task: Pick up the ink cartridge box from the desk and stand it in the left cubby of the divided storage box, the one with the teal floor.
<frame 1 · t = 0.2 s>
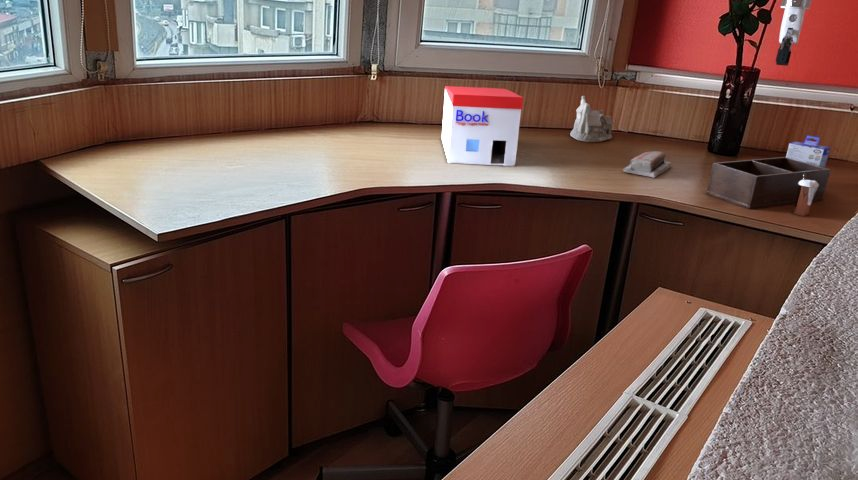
hand: (781, 63, 216), 33 cm above the table, tool pointing down, fingers open, 9 cm apart
divided storage box: (764, 196, 200), on the table
ceramic cottage: (591, 138, 265), on the table
ink cartridge box: (799, 185, 214), on the table
bookstore: (475, 152, 236), on the table
milkshake: (799, 214, 186), on the table
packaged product: (647, 170, 223), on the table
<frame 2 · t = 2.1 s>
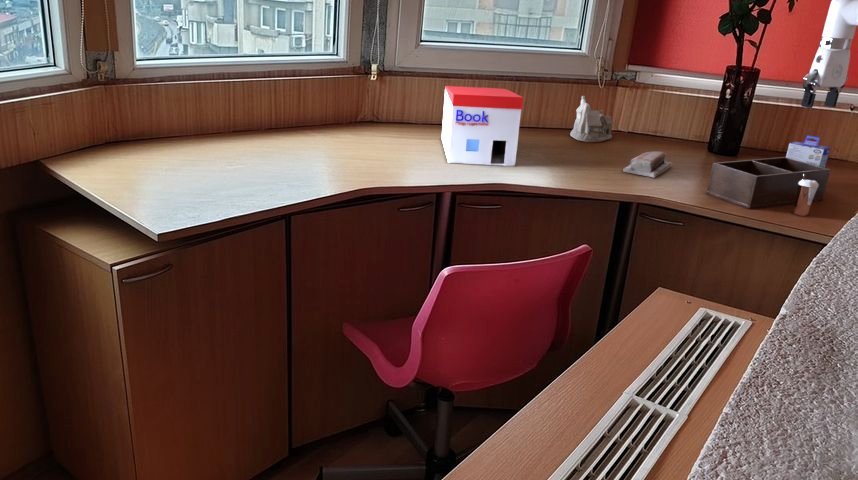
hand: (818, 106, 205), 23 cm above the table, tool pointing down, fingers open, 9 cm apart
nothing on the table moved.
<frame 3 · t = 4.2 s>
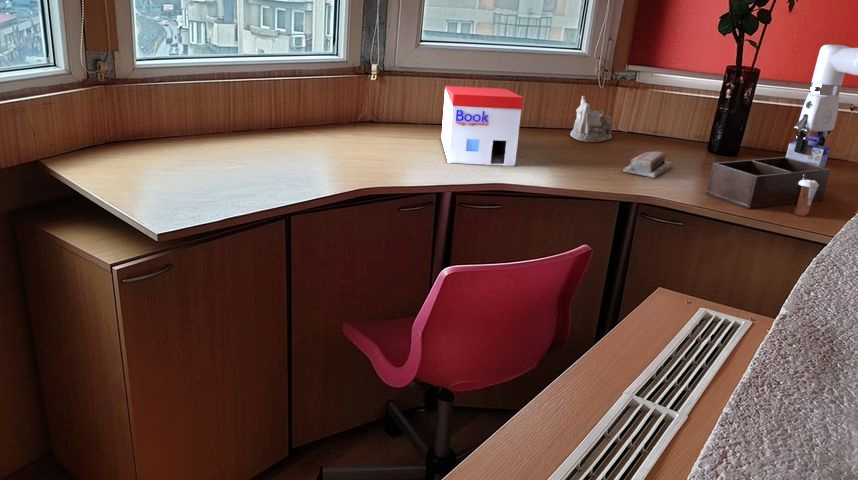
hand: (808, 151, 210), 10 cm above the table, tool pointing down, fingers closed on ink cartridge box, 6 cm apart
ink cartridge box: (799, 185, 214), on the table, touching gripper
everything else where it was.
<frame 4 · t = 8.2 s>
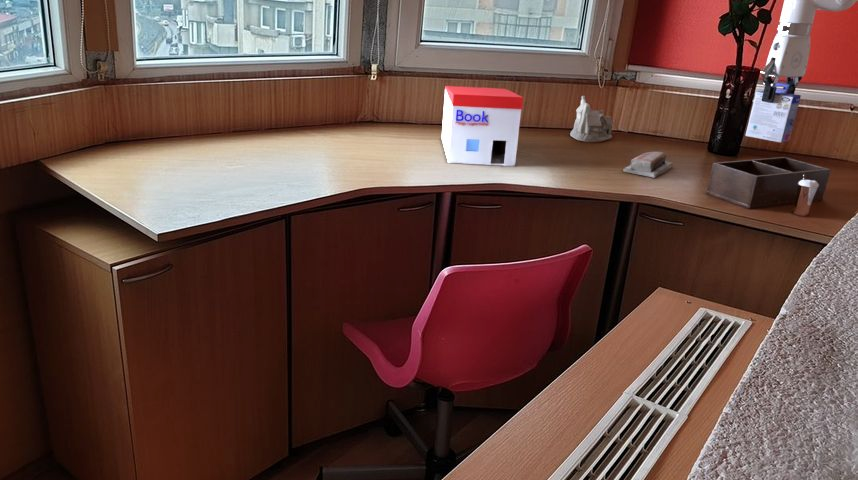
hand: (776, 101, 189), 26 cm above the table, tool pointing down, fingers closed on ink cartridge box, 6 cm apart
ink cartridge box: (767, 139, 193), point 16 cm above the table, touching gripper
everything else where it was.
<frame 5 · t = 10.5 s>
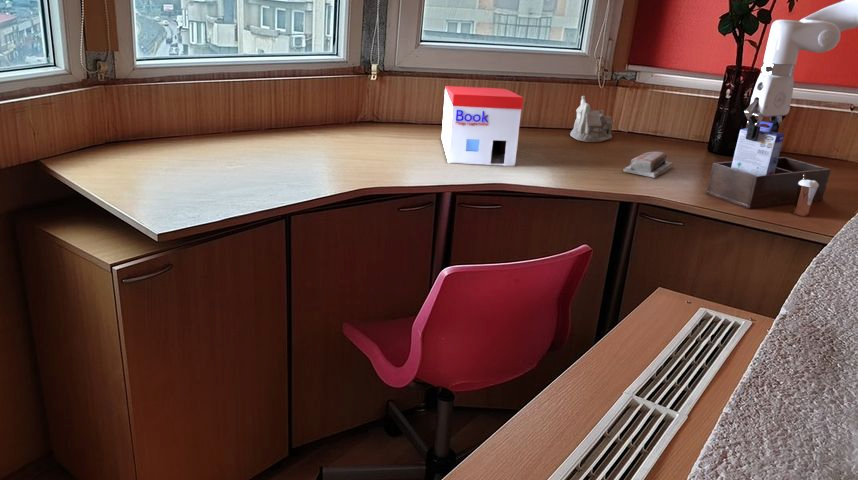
hand: (760, 139, 191), 17 cm above the table, tool pointing down, fingers closed on ink cartridge box, 6 cm apart
ink cartridge box: (751, 176, 195), point 6 cm above the table, touching gripper
everything else where it was.
when the fingers open (11 cm above the table, at t = 12.3 s): ink cartridge box stays where it is, resting on divided storage box.
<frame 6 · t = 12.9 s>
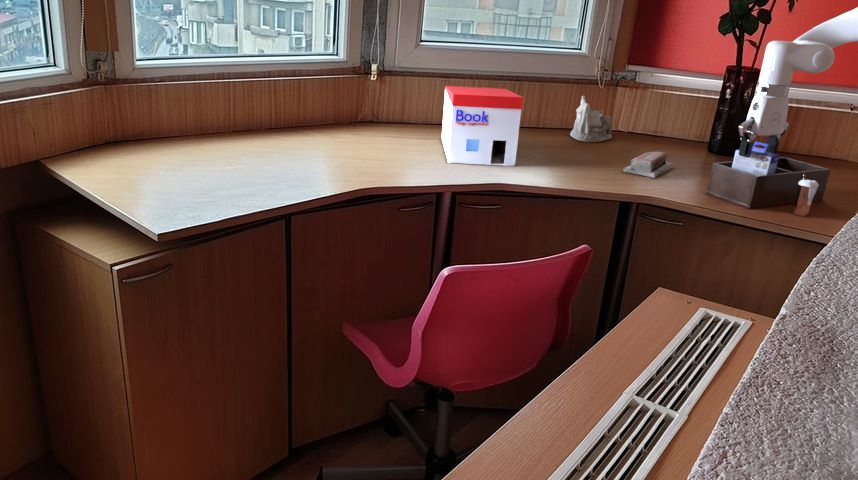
hand: (756, 155, 193), 12 cm above the table, tool pointing down, fingers open, 9 cm apart
ink cartridge box: (747, 196, 197), point 1 cm above the table, touching divided storage box
everything else where it was.
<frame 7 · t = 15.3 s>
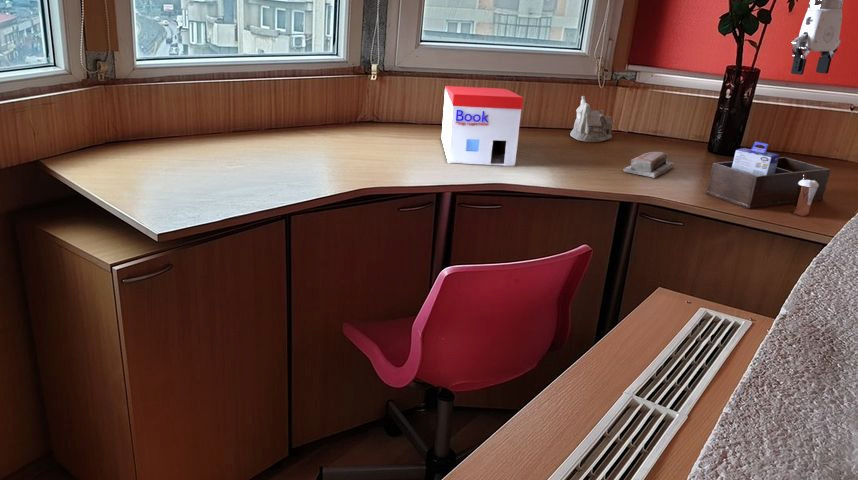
hand: (809, 73, 189), 34 cm above the table, tool pointing down, fingers open, 9 cm apart
nothing on the table moved.
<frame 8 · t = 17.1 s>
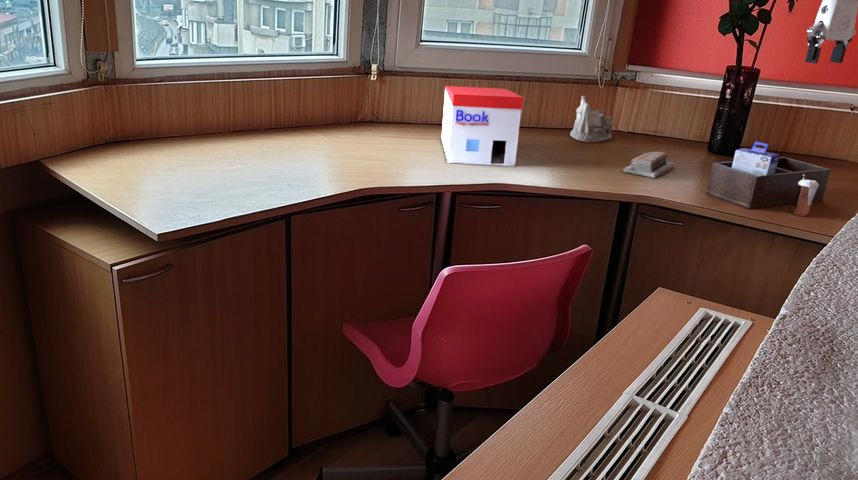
hand: (823, 62, 190), 36 cm above the table, tool pointing down, fingers open, 9 cm apart
nothing on the table moved.
at the end: ink cartridge box inside the target area in the divided storage box (0.1 cm from its centre), point 0.8 cm above the divided storage box's base; ink cartridge box tilted 0°; the gripper is holding nothing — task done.
